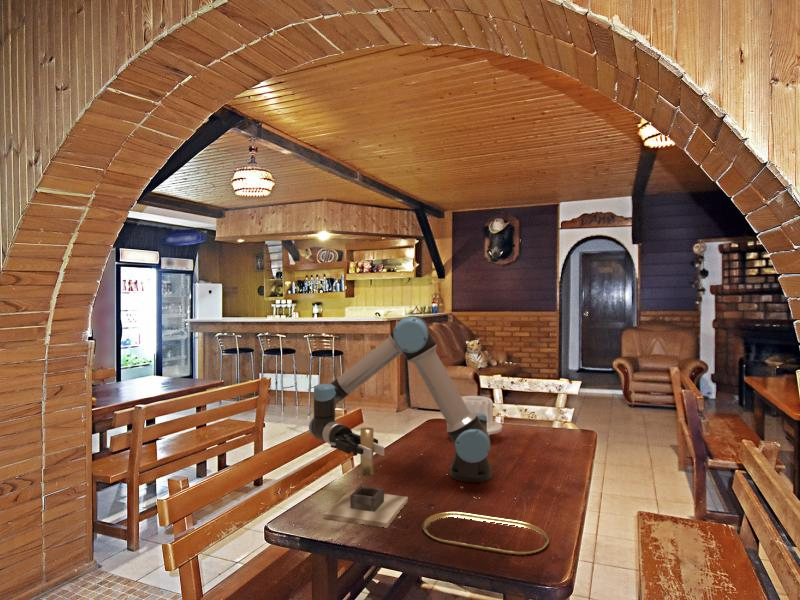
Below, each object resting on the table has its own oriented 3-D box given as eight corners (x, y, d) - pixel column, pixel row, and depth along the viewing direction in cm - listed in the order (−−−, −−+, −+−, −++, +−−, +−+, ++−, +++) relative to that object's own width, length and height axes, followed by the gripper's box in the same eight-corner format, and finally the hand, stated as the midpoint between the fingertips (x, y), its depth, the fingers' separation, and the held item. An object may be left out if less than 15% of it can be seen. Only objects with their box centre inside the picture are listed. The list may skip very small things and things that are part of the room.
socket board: (407, 501, 167) (407, 484, 167) (386, 528, 148) (386, 509, 148) (350, 494, 173) (350, 477, 173) (323, 518, 154) (323, 500, 154)
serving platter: (545, 563, 130) (545, 557, 130) (413, 540, 142) (413, 535, 142) (551, 531, 147) (551, 525, 147) (433, 513, 159) (433, 508, 159)
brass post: (375, 472, 162) (375, 428, 162) (370, 476, 158) (370, 431, 158) (363, 471, 163) (363, 426, 163) (358, 475, 159) (358, 430, 159)
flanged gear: (513, 440, 237) (513, 398, 237) (479, 451, 220) (479, 407, 220) (470, 429, 255) (470, 391, 255) (436, 439, 238) (436, 398, 238)
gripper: (359, 442, 180) (399, 459, 161) (315, 451, 170) (352, 470, 151) (359, 420, 180) (399, 435, 161) (315, 428, 170) (352, 445, 151)
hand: (376, 452), depth 156 cm, fingers closed on brass post, 4 cm apart
